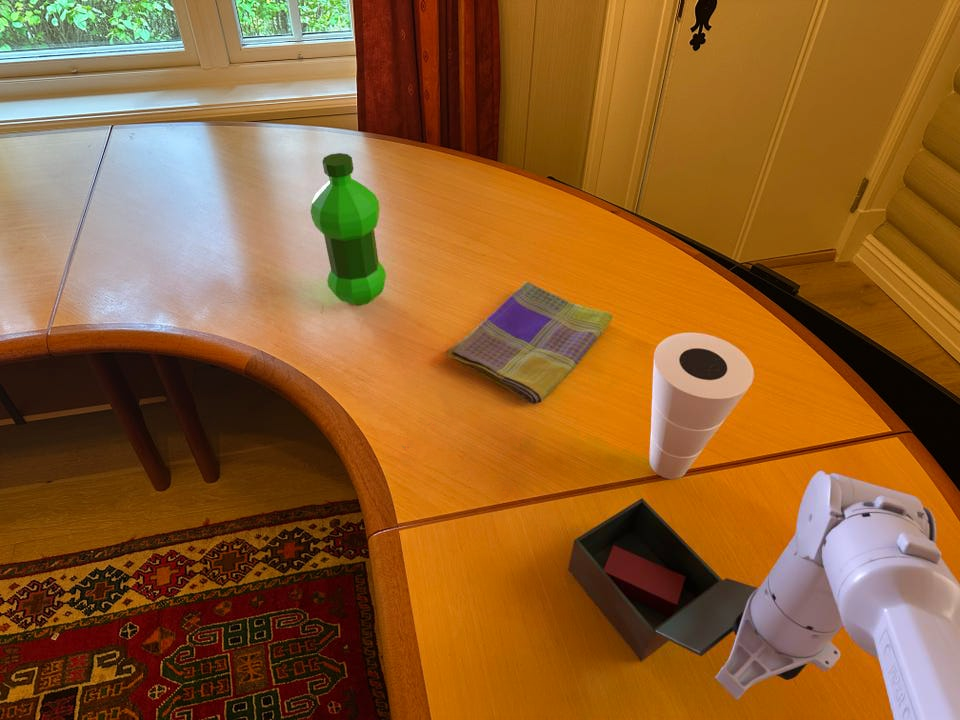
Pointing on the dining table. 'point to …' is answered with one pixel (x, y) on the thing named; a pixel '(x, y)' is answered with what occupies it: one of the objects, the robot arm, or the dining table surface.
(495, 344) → the dish towel
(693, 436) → the white paper towel roll
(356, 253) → the plastic bottle
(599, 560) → the carton
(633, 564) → the red rectangular block
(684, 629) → the carton flap
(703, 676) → the dining table surface
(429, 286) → the dining table surface
